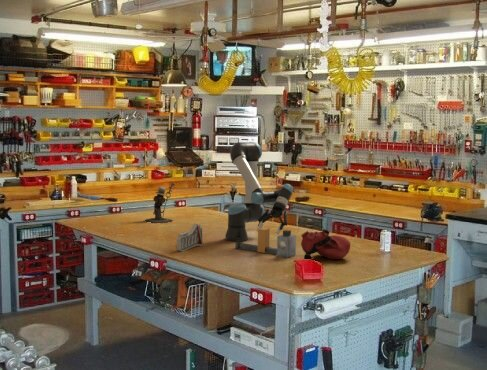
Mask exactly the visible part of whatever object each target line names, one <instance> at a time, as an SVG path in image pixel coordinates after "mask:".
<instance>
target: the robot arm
mask: <svg viewBox="0 0 487 370" xmlns="http://www.w3.org/2000/svg"><path fill="white" fill-rule="evenodd" d="M262 155H263V150H262V147H261V145H260V144H259V143H257V142H253V141H252V142H251V141H249V142H248V141H244V142H241V141H240V142H236V143H234V144H233V145H232V146H231V148H230V152H229V157H230V159H231V162H232V164H233V165H234V166H236V168H237V170H238V171H239V173H240V175H241V177H242V180H243V181H244V189H245V190H244V192H245V201H243V203H233V204H230V205H228V210H227V218H228V219H227V231H226V232H225V236H224V237H225V238H224V239H225V240H226V241H229V242H244V241H248V238H249V235H248V233H247V230H246V223H256V222H258V225H257V229H256V231H257V232H258V229H260V228H263V226H264V223H266V222H267V221H269V220H270V219H273V218H274V219H278V218H279V221H280V223H279V224H278V227H277V229H276V232H275V233H276V235H277V236H279V235H280V233H281V231H282V230H284V226H288V218H287V217H288V212H287V210H286V208H287V206H288V203H289V201H290V199H291V197H292V195H293V193H294V187H293V186H292V185H291V184H289V183H284V184H283V185H282V186H281V188H278V189H277V190H269V191H264V189H263V188H262V186H261V184H260V182H259V180H258V167H257V166H258V163H259V162H260V159H261V158H262ZM263 204H273V206H272V209H271V210H270V209H266V211H265V207H264V205H263ZM282 216H283V218H282Z"/></svg>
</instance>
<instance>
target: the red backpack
mask: <svg viewBox="0 0 487 370" xmlns="http://www.w3.org/2000/svg"><path fill="white" fill-rule="evenodd" d="M329 234H330V231H329V230H328V229H327V228H326V229H325V228H322V231H314V232H313V231H310V232H309V231H308V230H306V231H305V232H303V233H302V234H301V238H302V239H301V242H300V246H301V248H302V251H303V253H304V256H303V259H311V260H312V259H313V257H312V255H313V254H316V253H317V254H318V255H319V256H321V257H323V258H324V257H325V258H328V259H329V260H334V259H338V260H342V259H345V257H346V256H347V255H348V254H349V252H350V249H351V242H350V240H349V239H347V238H346V237H344V236H340V235H329Z"/></svg>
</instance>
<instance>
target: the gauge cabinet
mask: <svg viewBox="0 0 487 370" xmlns="http://www.w3.org/2000/svg"><path fill="white" fill-rule="evenodd" d="M276 237H277V238H276V241H277V242H276V248H277V255H276V257H280V258H284V259H285V258H286V259H287V258H291V257H294V256H296V251H297V250H296V249H297V235H296V234H292V233H291V235H288V237H286V236H285V235H283V234H279V235H277V236H276Z"/></svg>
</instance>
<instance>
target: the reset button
mask: <svg viewBox="0 0 487 370" xmlns="http://www.w3.org/2000/svg"><path fill="white" fill-rule="evenodd" d="M282 230H283V231H282V235H285V236H286V237H288V235H291V234H292V233H291V232H292V230H291V229H289V230H288V229H282Z"/></svg>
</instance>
